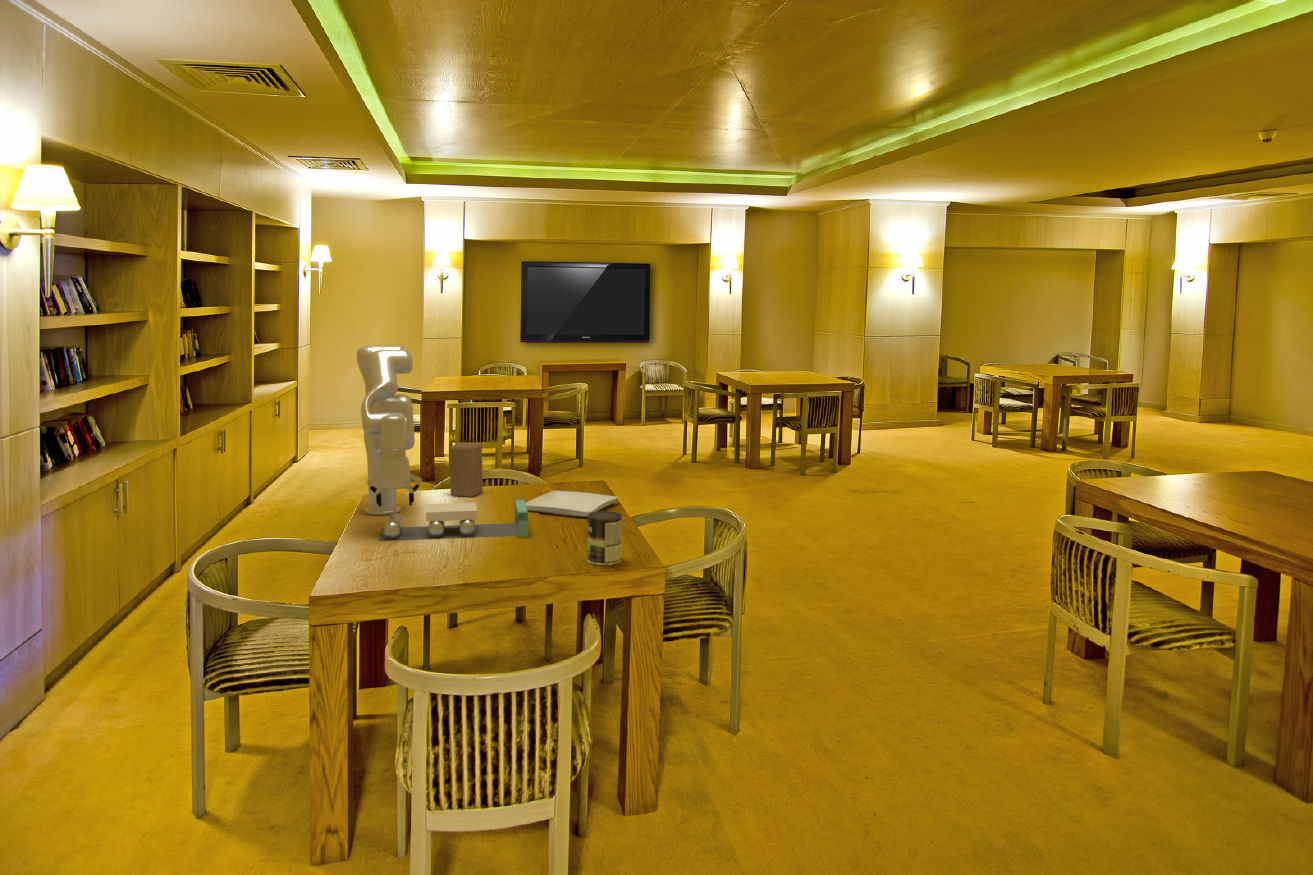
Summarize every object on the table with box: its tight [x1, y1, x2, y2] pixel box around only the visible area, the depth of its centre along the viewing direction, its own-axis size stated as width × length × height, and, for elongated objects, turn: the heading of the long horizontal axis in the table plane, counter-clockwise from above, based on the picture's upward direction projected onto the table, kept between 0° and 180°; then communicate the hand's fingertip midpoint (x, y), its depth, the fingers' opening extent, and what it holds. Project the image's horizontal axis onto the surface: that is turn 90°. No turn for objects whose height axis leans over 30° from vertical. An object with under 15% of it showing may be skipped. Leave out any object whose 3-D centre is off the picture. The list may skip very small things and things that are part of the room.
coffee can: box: [586, 510, 623, 567], centre depth 276 cm, size 10×10×14 cm
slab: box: [425, 502, 478, 522], centre depth 305 cm, size 12×16×3 cm
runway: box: [377, 498, 531, 542], centre depth 306 cm, size 21×48×8 cm, turn 102°
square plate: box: [525, 490, 619, 518], centre depth 344 cm, size 27×27×4 cm
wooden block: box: [449, 442, 484, 498], centre depth 364 cm, size 10×10×20 cm
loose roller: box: [383, 512, 404, 540], centre depth 302 cm, size 16×5×5 cm, turn 12°
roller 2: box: [459, 520, 476, 537], centre depth 307 cm, size 16×5×5 cm, turn 12°
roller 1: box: [428, 521, 446, 538], centre depth 305 cm, size 16×5×5 cm, turn 12°
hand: (395, 505), depth 301 cm, fingers open, 9 cm apart
